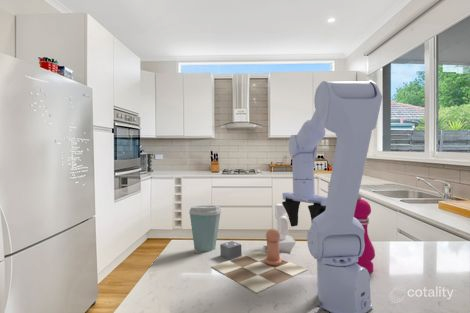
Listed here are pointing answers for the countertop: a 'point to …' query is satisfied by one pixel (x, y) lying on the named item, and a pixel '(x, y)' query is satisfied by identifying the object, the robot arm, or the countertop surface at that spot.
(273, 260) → the pawn
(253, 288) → the board
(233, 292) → the countertop surface
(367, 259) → the pepper mill
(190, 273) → the countertop surface
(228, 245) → the die
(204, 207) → the disposable coffee cup
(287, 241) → the figurine
